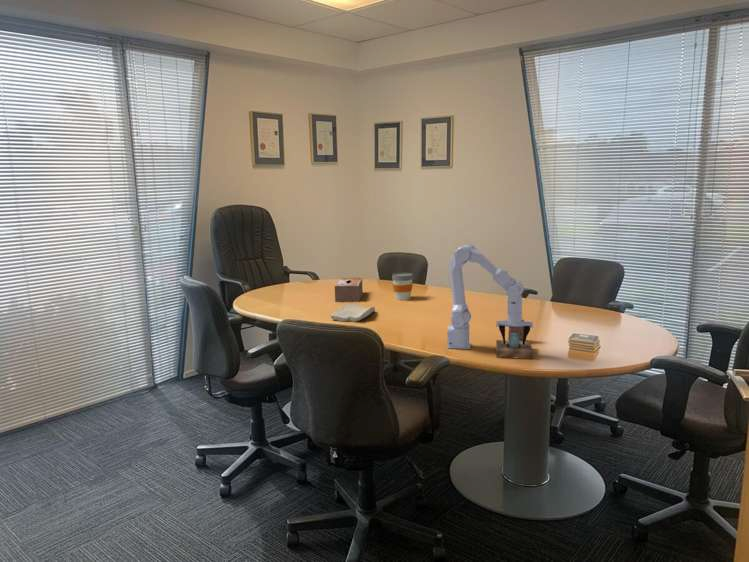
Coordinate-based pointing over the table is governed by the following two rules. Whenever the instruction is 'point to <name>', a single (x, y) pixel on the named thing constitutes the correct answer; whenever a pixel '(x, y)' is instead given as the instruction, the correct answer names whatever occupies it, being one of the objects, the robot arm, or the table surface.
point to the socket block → (514, 349)
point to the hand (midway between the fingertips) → (513, 343)
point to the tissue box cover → (348, 290)
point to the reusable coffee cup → (402, 285)
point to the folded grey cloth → (351, 313)
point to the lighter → (516, 331)
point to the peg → (513, 340)
